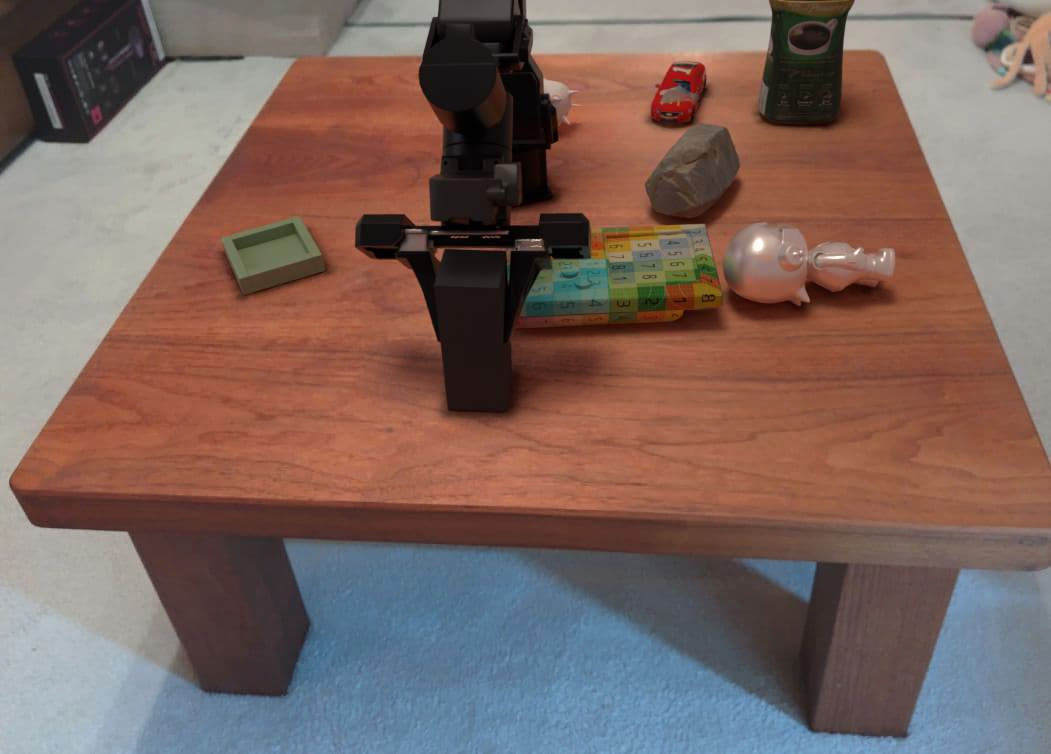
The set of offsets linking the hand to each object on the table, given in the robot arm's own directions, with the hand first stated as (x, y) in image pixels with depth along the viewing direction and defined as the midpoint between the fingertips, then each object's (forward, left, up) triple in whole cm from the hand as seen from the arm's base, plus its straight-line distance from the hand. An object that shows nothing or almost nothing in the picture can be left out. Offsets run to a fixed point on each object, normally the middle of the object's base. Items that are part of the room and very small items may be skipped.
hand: (473, 342), depth 81 cm
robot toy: (-20, -47, -7) cm, 52 cm away
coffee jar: (-51, -36, -7) cm, 63 cm away
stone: (-31, -23, -7) cm, 39 cm away
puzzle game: (-16, -10, -7) cm, 20 cm away
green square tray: (+14, -29, -7) cm, 33 cm away
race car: (-39, -44, -7) cm, 59 cm away
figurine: (-33, -3, -7) cm, 33 cm away
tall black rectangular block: (0, -1, -7) cm, 7 cm away
